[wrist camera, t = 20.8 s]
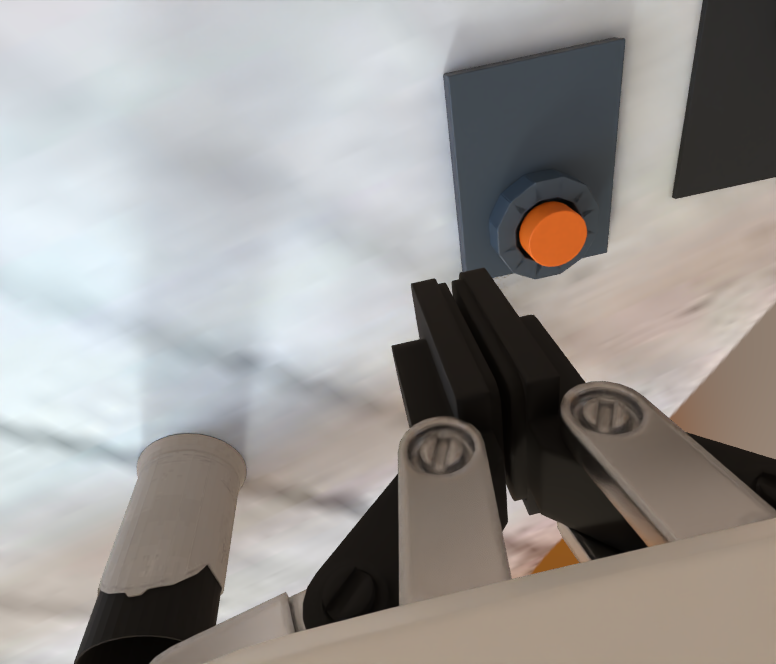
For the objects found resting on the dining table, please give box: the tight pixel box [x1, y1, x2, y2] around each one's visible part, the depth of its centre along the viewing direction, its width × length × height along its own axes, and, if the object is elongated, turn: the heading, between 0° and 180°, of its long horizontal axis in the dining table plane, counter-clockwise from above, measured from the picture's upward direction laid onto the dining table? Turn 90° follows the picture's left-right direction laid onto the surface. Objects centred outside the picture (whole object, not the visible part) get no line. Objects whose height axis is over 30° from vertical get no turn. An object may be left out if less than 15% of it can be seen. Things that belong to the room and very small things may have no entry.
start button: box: [519, 201, 587, 267], centre depth 30 cm, size 4×4×2 cm
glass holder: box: [74, 434, 246, 664], centre depth 37 cm, size 9×14×15 cm, turn 2°
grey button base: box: [443, 38, 625, 279], centre depth 30 cm, size 13×10×3 cm
